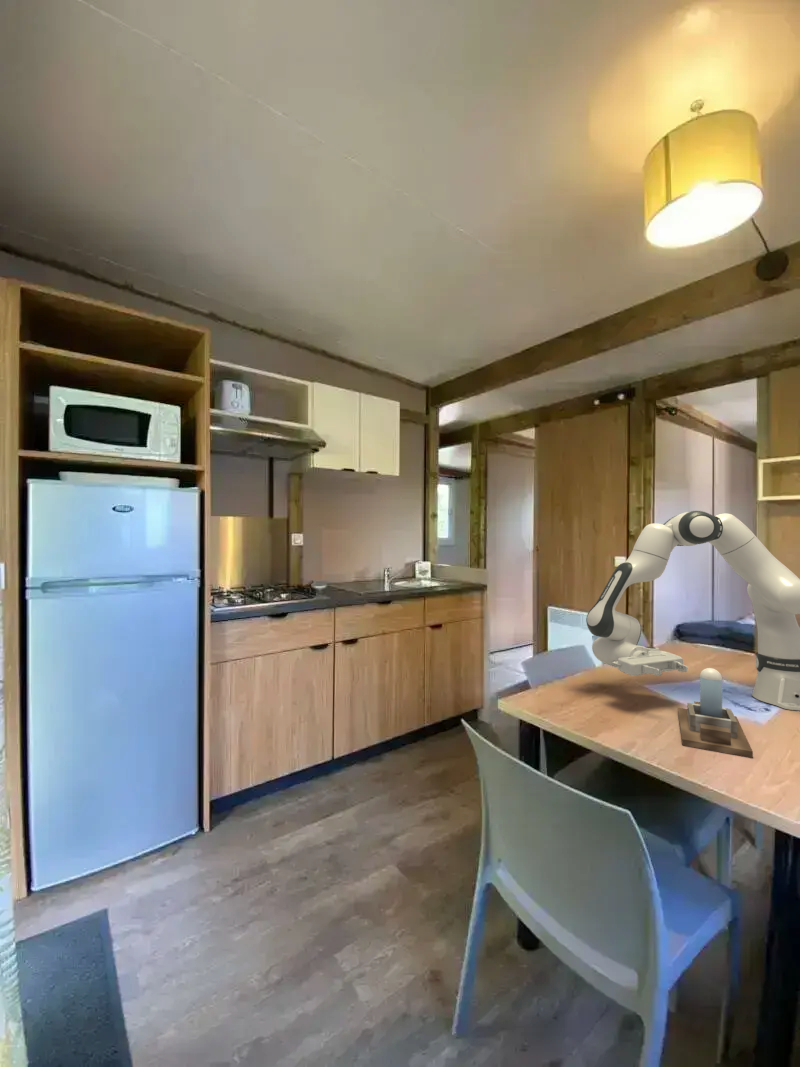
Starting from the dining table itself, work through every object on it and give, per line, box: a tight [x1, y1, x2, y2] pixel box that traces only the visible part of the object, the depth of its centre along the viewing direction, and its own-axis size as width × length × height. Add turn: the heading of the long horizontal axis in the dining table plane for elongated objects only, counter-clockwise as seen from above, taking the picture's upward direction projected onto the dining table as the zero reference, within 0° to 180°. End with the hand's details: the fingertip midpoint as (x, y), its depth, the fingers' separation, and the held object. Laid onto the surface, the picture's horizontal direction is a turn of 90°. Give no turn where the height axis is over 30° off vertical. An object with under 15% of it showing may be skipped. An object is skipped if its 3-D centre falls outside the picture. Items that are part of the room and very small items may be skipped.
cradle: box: [677, 701, 754, 759], centre depth 121 cm, size 14×24×6 cm, turn 151°
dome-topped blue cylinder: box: [699, 667, 723, 718], centre depth 121 cm, size 5×5×15 cm
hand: (672, 670), depth 134 cm, fingers open, 8 cm apart
